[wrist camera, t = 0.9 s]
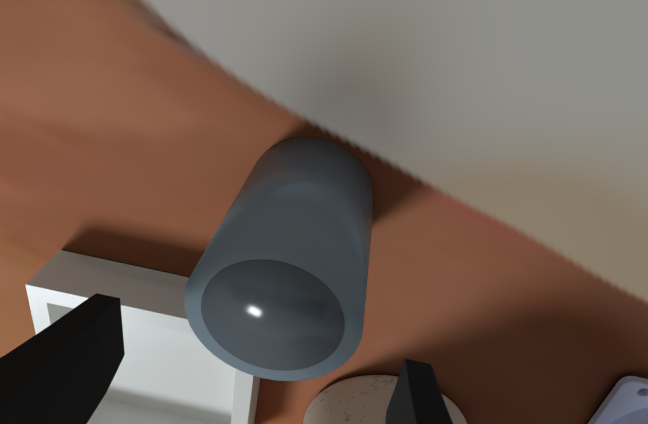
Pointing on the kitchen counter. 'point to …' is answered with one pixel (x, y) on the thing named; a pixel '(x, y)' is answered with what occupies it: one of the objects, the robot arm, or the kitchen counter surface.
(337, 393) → the teacup with lid
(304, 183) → the tumbler
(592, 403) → the kitchen counter surface
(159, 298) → the tray
